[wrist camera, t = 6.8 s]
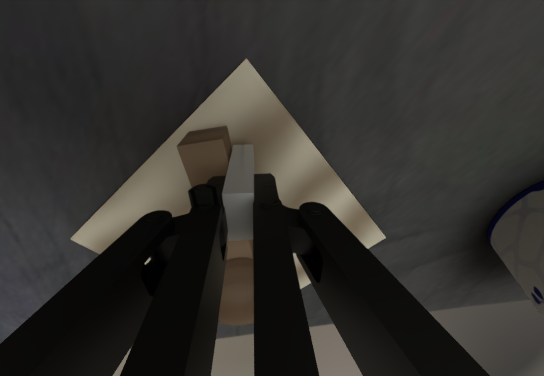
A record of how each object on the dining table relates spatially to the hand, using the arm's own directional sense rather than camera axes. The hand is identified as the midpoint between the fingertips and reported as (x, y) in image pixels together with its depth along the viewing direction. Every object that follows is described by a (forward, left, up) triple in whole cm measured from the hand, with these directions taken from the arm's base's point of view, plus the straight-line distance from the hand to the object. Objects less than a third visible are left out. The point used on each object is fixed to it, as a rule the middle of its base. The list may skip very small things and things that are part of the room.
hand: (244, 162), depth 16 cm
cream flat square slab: (+6, -6, -3) cm, 10 cm away
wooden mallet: (+6, -6, -2) cm, 9 cm away
